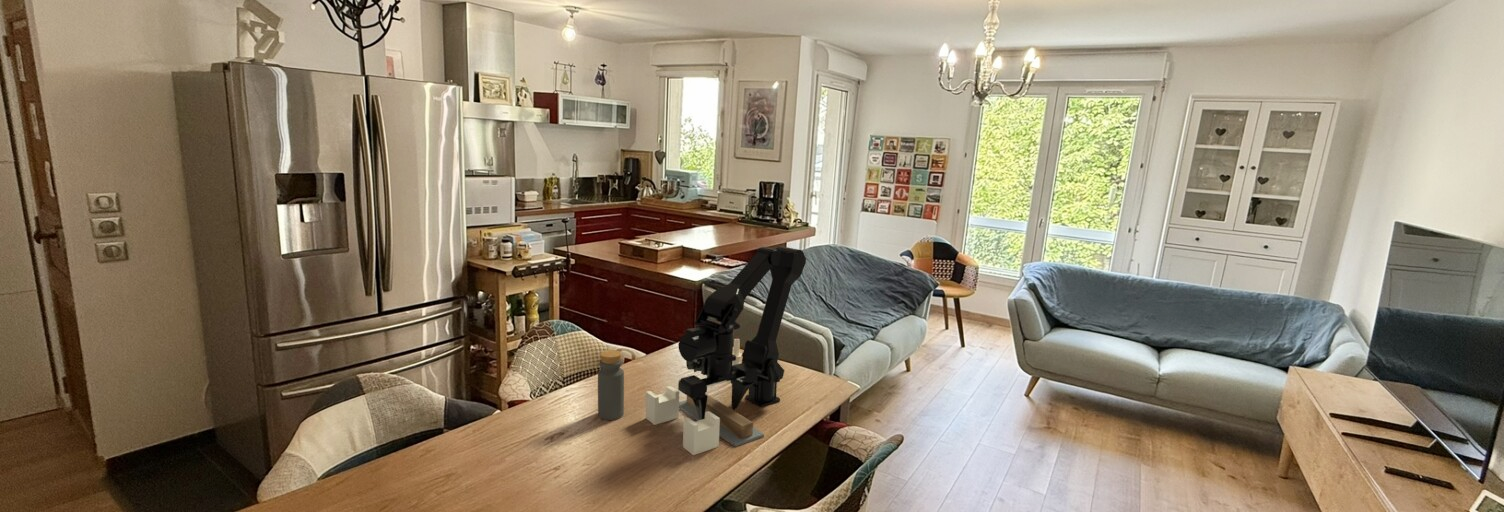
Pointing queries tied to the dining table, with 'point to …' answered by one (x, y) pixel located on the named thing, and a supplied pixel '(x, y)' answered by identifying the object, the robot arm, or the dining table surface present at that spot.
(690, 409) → the mat
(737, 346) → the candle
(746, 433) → the rail
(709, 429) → the post
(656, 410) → the post
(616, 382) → the bottle
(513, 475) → the dining table surface
